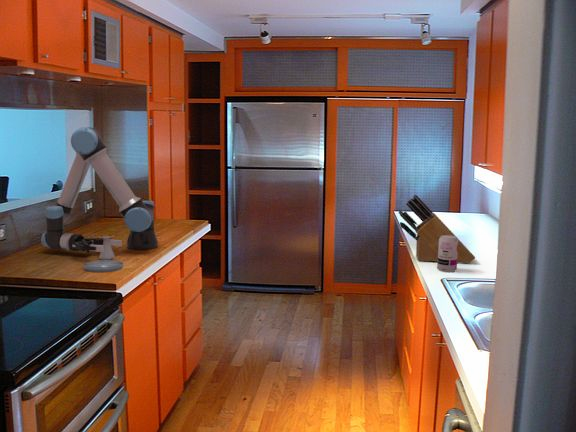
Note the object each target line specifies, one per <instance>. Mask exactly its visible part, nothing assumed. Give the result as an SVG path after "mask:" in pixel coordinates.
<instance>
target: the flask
mask: <svg viewBox="0 0 576 432" xmlns="http://www.w3.org/2000/svg"><path fill="white" fill-rule="evenodd" d="M102 238H103V245H102V246H103V249H104V252H99V253H100V254H99V257H98V260H114V259H116V256H115V252H114V251H113V248H112V246H111V245H110V238H111V236H109V235H108V236H107V235H106V236H102Z"/></svg>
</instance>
